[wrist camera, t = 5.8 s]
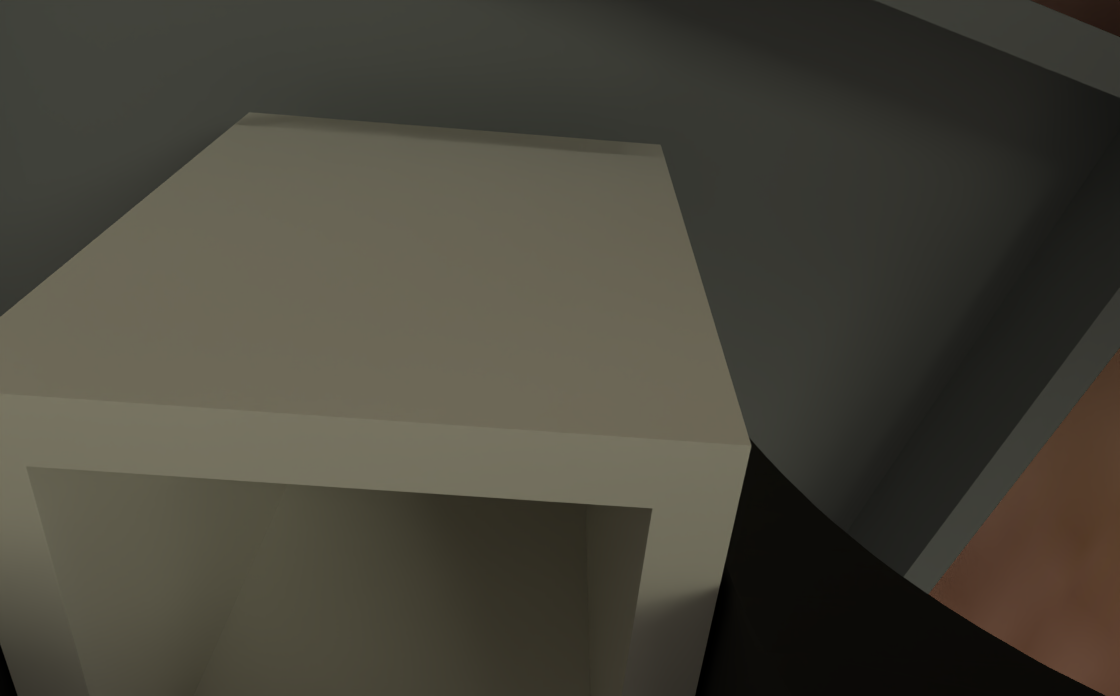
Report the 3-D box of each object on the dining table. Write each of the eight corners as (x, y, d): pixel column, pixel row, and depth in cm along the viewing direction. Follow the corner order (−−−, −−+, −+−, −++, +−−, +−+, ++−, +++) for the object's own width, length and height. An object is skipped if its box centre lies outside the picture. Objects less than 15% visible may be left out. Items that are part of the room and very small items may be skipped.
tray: (1162, 59, 14) (1301, 112, 11) (723, 707, 21) (744, 830, 19) (-83, -451, 11) (-293, -543, 8) (-71, 510, 18) (-176, 622, 16)
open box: (660, 144, 12) (751, 445, 6) (616, 471, 15) (648, 903, 9) (249, 112, 12) (-86, 387, 6) (281, 447, 15) (76, 873, 9)
